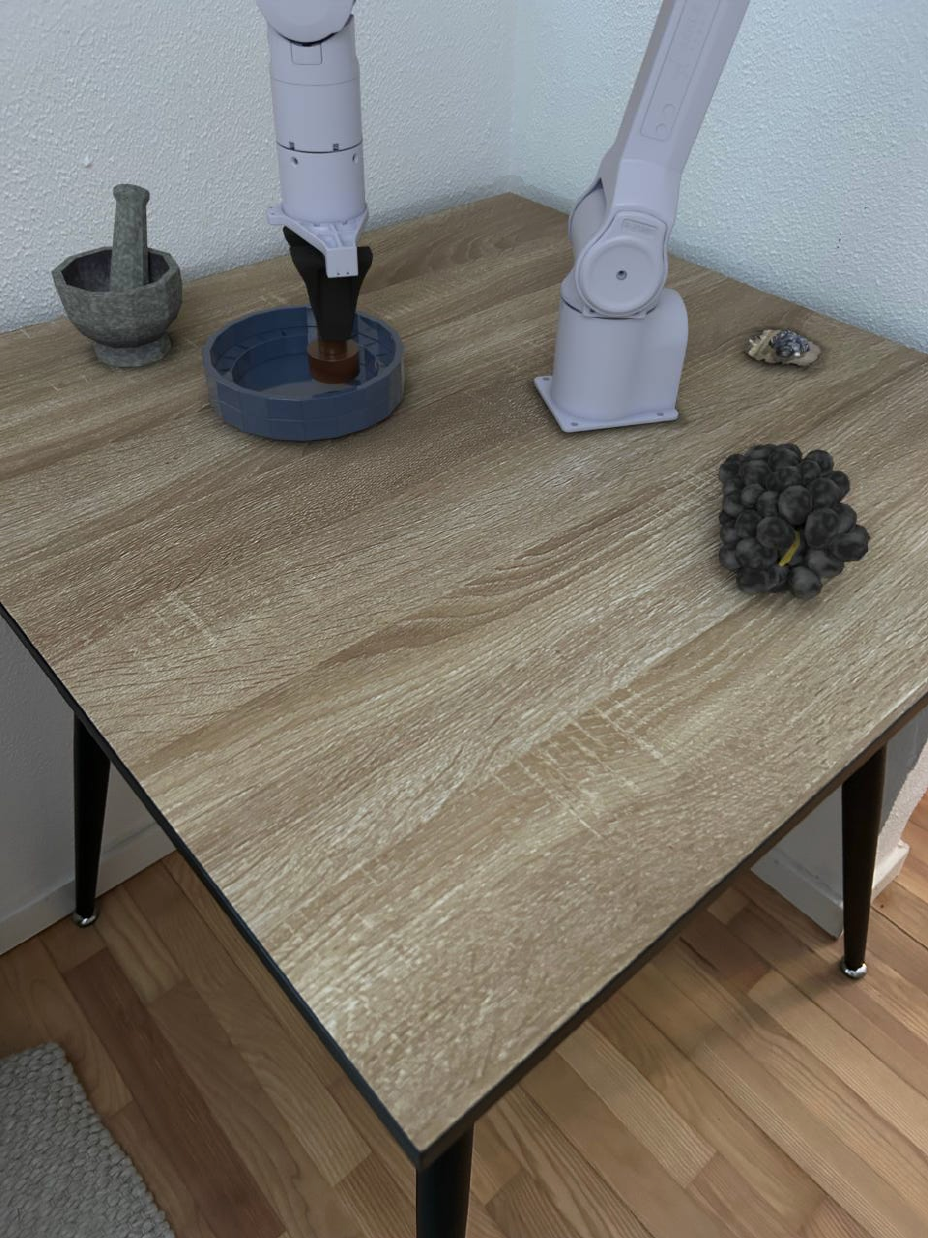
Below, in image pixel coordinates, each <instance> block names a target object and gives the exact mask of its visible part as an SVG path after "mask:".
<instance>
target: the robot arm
mask: <svg viewBox="0 0 928 1238" xmlns="http://www.w3.org/2000/svg"><path fill="white" fill-rule="evenodd" d="M356 2H357V0H255V3H256V5H257V7H258V10H259V11H260V13H261V15H262V17H263V18H264V20H265V21H266V39H267V44H268V50H269V62H268V73H269V82H270V84H269V85H270V93H271V102H272V103H271V104H272V112H273V123H274V132H275V144H276V155H277V163H278V173H279V184H280V194H281V203H279V204H272V205H271V204H270V205H267V206H266V207H265V216H266V220H267V223H268V225H270V226H275V227H276V226H283V227H282V233H283V236H284V239H285V241H286V242H287V244H288V245H289V247H288V251H289V255H290V259H291V261H292V263H293V266H294V267H295V269H296V271H297V273H298V274H299V275H300V277H301V279H302V281H303V282H304V284H305V288H306V291H307V296H308V300H309V304H311V308H312V311H313V314H314V317H315V320H316V323H317V326H318V329H319V332H320V335H321V338H322V340H323V342H334V341H345V340H350V337H351V334H352V329H353V324H354V318H355V311H356V310H357V306H358V305H357V304H358V299H359V296H360V291H361V288H362V286H363V283H364V280H365V278H366V277H367V274H368V272H369V271H370V269H371V267H372V264H373V262H374V261H373V260H374V253H373V251H372V248H371V247H370V245H364V246H358V245H359V242H360V240H361V238H362V236H363V234H364V230H365V228H366V226H367V223H368V222H369V218H370V213H369V212H370V211H369V210H370V209H369V204H368V202H367V201H366V181H365V160H364V159H365V158H364V139H363V118H362V96H361V95H362V94H361V68H360V61H359V59H358V57H357V50H356V49H357V48H356V46H357V45H356V26H355V15H354V14H353V13H352V11H353V8H354V6H355V5H356ZM750 3H751V0H662V3H661V6H660V8H659V11H658V14H657V16H656V20H655V23H654V26H653V27H652V28H653V29H652V32H651V35H650V37H649V41H648V43H647V45H646V46H647V47H646V50H645V52H644V55H643V57H642V61H641V64H640V66H639V70H638V73H637V75H636V78H635V81H634V84H633V87H632V90H631V93H630V96H629V99H628V101H627V104H626V108H625V111H624V113H623V116H622V119H621V122H620V125H619V128H618V132H617V134H616V136H615V139H614V141H613V143H612V145H611V146H610V148H609V149H608V150H607V152H606V153H605V155H604V156H603V157H602V159H601V161H600V164H599V166H598V167H599V168H598V170H597V173H596V175H595V177H594V179H593V181H592V183H591V184H590V185H589V187H588V188H586V190H584V192H582V193H581V194H580V195H579V197H577V199H576V201H575V202H574V203H573V205H572V208H571V210H570V213H569V216H568V221H567V233H568V238H569V243H570V246H571V247H572V253H573V262H574V265H573V267H572V268H571V270H570V271H569V272H568V274H567V275H566V276H565V277H564V279H563V280H562V281H561V284H560V292H559V300H558V301H559V302H558V312H557V323H556V331H555V332H556V333H555V344H554V354H553V364H552V372H551V373H552V374H551V375H543V376H536V377H535V378H534V379H533V384H534V386H535V388H536V390H537V392H538V393H539V394H540V396H541V398H542V399H543V401H544V402H545V404H546V406H547V408H548V409H549V411H550V412H551V414H552V416H553V417H554V419H555V421H556V422H557V424H558V426H559V428H560V429H561V431H563V432H565V433H574V432H575V433H577V432H585V431H586V432H587V431H594V430H601V429H610V428H618V427H627V426H635V425H643V424H651V423H659V422H669V421H675V420H677V419H678V417H679V412H678V410H677V409H676V404H677V399H678V395H679V394H678V393H679V388H680V384H681V380H682V379H681V378H682V375H683V368H684V363H685V359H686V352H687V348H688V343H689V342H688V341H689V317H688V312H687V307H686V304H685V301H684V300H683V298H682V296H681V294H680V293H679V292H678V291H677V290H675V289H673V288H666V287H665V284H666V282H667V279H668V275H669V259H668V243H669V241H670V236H671V233H672V231H673V228H674V226H675V224H676V219H677V213H678V212H677V211H678V205H679V196H680V187H681V181H682V180H681V179H682V176H683V173H684V171H685V167H686V165H687V163H688V160H689V157H690V155H691V152H692V150H693V147H694V145H695V143H696V139H697V137H698V135H699V132H700V130H701V127H702V125H703V123H704V119H705V117H706V114H707V112H708V109H709V107H710V104H711V102H712V99H713V97H714V95H715V92H716V89H717V86H718V83H719V82H720V79H721V76H722V74H723V71H724V68H725V66H726V64H727V61H728V58H729V56H730V53H731V51H732V48H733V46H734V43H735V41H736V38H737V36H738V34H739V31H740V28H741V25H742V23H743V20H744V18H745V15H746V13H747V11H748V8H749V6H750Z"/></svg>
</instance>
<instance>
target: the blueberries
mask: <svg viewBox="0 0 928 1238" xmlns="http://www.w3.org/2000/svg"><path fill="white" fill-rule="evenodd" d="M754 337H755V340H753V339H751V338H749V344H748V345H747V346H745V347H744V349H743V352H744V353H746V354H747V355H749V356H750V357H752V358H753V359H754V360H755V361H758V362H759V361H761V360H764V361H765V363H768V364H777V363H782V365H785V364H786V365H789V364H795V365H798V366H799V367H806V366H808V367H809V366H811V365H810V364H812V363H814V362H816V360H817V358H819V356H820V354H821V353H822V350H821V348H820V346H818V345H817V344H815V343H813V341H809V340H808V339H807V338H806V337H804V336H803V335H802V334H798V333H796V332H794V331H793V330H791V329H788V328H786V329H777V330H774V329H766V330H763V331H762V334H758V337H759V338H760V339H759V338H758V337H757V336H754Z"/></svg>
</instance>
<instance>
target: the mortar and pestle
mask: <svg viewBox="0 0 928 1238" xmlns="http://www.w3.org/2000/svg"><path fill="white" fill-rule="evenodd" d="M112 191H113V192H112V195H113V198H114V199H115V213H114V225H113V234H112V235H113V237H112V246H111V245H110V246H108V245H107V246H101V247H98V248H97V247H96V248H94V249H90V250H86V251H83V252H80V253H76V254H72V255H69V256H67V258H65V260H63V261H62V262H61V263H60V264H58V265H57V266H56V267H55V268H54V269H53V270H52V271H51V276H52V280H53V284H54V288H55V290H56V293H57V295H58V297H59V301H60V302H61V304H62V307H63V309H64V311H65V314H66V316H67V318H68V320H69V322H70V323H71V324H72V325H73V326H74V327H75V329H76V330H77V331H78V332H79V333H80V334H81V335H82V336H84V337H86V338H87V339H90V340H91V341H92V343H93V348H94V349H93V350H94V352H95V355H96V357H97V359H98V361H99V362H100V363H104V364H106V365H108V366H109V365H110V366H113V367H115V368H133V367H144V366H147V365H149V364H153V363H154V362H157V361H160V360H163V359H164V358H165V357H166V355H167V354H168V353H169V352H170V350H172V343H171V339H170V337H169V335H168V333H167V330H168V329H169V327H170V326H171V325H172V324H173V323H174V322H175V320H176V319H178V315H179V313H180V309H181V306H182V304H183V280H182V274H181V269H180V268H181V267H180V266H179V265H178V263H177V261H176V260H175V258H174V257H173V255H172V254H171V253H170V252H166V251H163V250H159V249H156V248H152V247H148V224H147V223H148V221H147V220H148V219H147V205H148V203H149V202H150V201H151V197H150V196H151V195H150V194H151V193H150V191H149V190H148V189H146V188H144V187H142V186H140V185H136V184H133V183H118V184H116V185H114V186H113V189H112Z"/></svg>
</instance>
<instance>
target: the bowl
mask: <svg viewBox="0 0 928 1238" xmlns="http://www.w3.org/2000/svg"><path fill="white" fill-rule="evenodd" d="M316 339H318V337H317V324H316V320H315V317H314V314H313V311H312V308H311V304H310V303H301V304H291V305H290V304H289V305H280V306H279V305H278V306H274V307H269V308H264V309H259V310H257V311H253V312H248V313H246V314H244V315H241V316H240V317H236V318H234V319H232V320H230V321H228V322H226V323H225V324H223V325H222V326H221V327H219V328H218V329H217V330H215V331H214V332H213V333H212V334H210V335H209V337H208V338H207V340H206V343H205V344H204V346H203V348H202V349H201V357H202V365H203V371H204V375H205V382H206V389H207V395H208V399H209V405H210V407H211V408H212V410H214V412H215V413H216V414H217V415H218V417H219V418H220V419H221V420H222V422H225V423H227V424H228V425H231V426H232V427H234V428H236V429H238V430H240V431H242V432H244V433H247V434H252V435H256V436H259V437H264V438H268V439H273V440H281V441H282V440H283V441H298V442H309V441H316V440H325V439H334V438H339V437H343V436H346V435H349V434H352V433H356V432H359V431H362V430H365V429H368V428H370V427H372V426H373V425H375V424H378V422H380V421H383V420H384V419H386V418H387V417H389V416H390V415H391V414H392V413H393V412H394V410H395V409H396V408H397V407H398V406H399V404H401V402H402V401H403V396H404V393H405V389H406V388H405V387H406V367H405V365H406V364H405V361H406V359H405V345H404V342H403V341H402V338H401V336H400V334H399V331H397V330H396V329H395V328H393V326H392V325H390V324H388V323H387V321H385V320H384V319H383V318H382V319H381V318H379V317H377V316H374V315H372V314H371V313H368V312H365V311H363V310H359V309H356V311H355V318H354V324H353V329H352V334H351V337H350V339H352V340H354V341H355V342H356V343H357V344H358V346H359V356H360V373H359V375H358V376H357V377H356V378H355V379H353V380H351V381H349V382H346V383H341V384H326V383H321V382H318V381H316V380H314V379H313V378H312V377H311V376H310V375H309V369H308V358H307V346H308V345H309V344H310V343H311V342H312V341H314V340H316Z"/></svg>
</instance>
